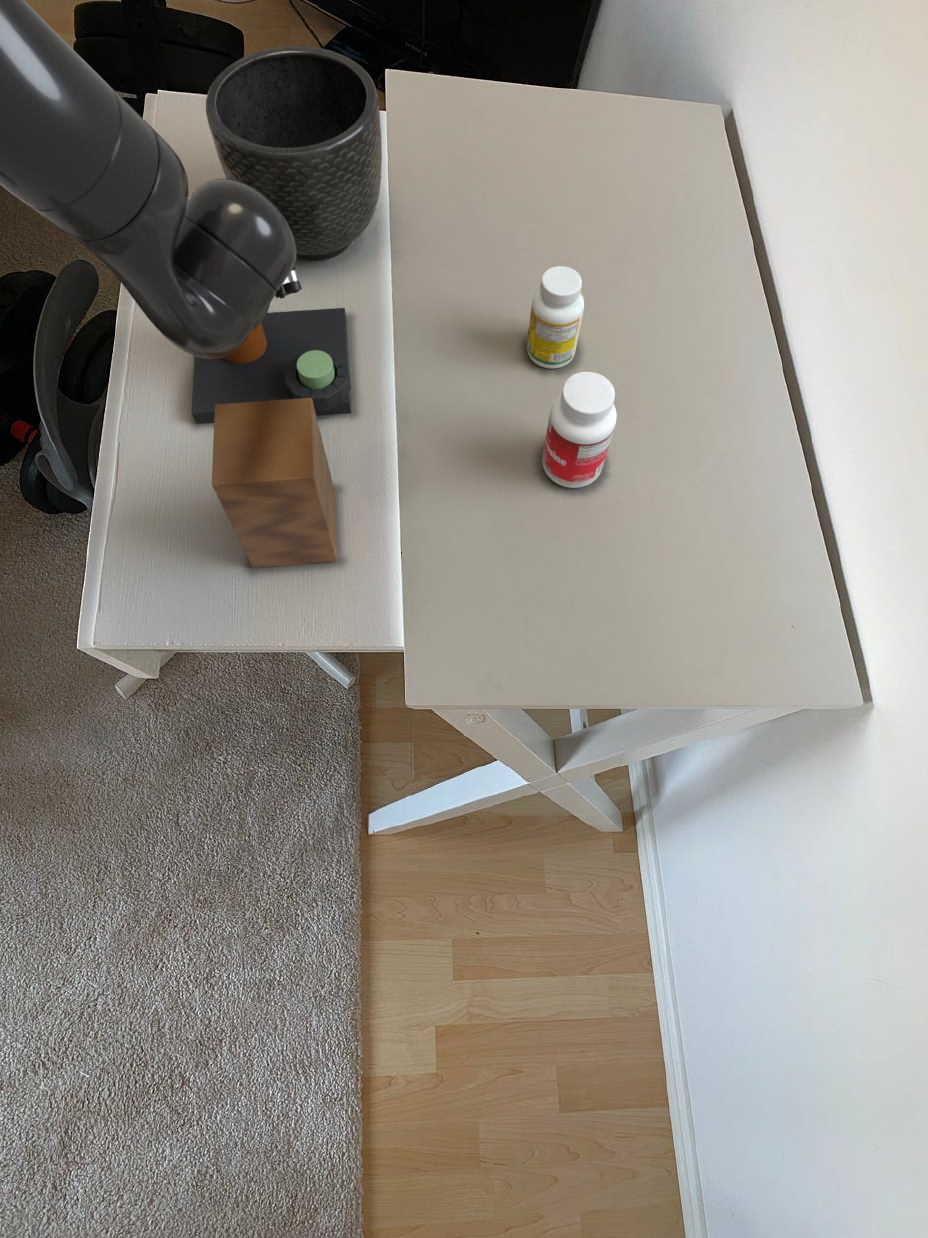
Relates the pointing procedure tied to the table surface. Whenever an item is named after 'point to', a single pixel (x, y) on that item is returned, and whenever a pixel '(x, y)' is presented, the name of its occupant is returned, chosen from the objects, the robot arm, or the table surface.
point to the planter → (302, 141)
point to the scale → (279, 366)
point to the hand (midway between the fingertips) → (227, 299)
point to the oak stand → (275, 481)
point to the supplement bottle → (555, 318)
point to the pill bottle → (579, 430)
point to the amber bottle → (250, 347)
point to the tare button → (315, 369)
